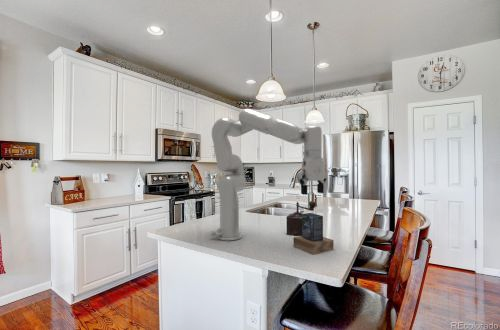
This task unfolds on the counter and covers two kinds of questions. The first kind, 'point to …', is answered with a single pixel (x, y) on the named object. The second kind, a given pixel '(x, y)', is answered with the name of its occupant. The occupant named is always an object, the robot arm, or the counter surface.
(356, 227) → the counter surface
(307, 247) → the base
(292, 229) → the antique coffee grinder
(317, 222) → the box
